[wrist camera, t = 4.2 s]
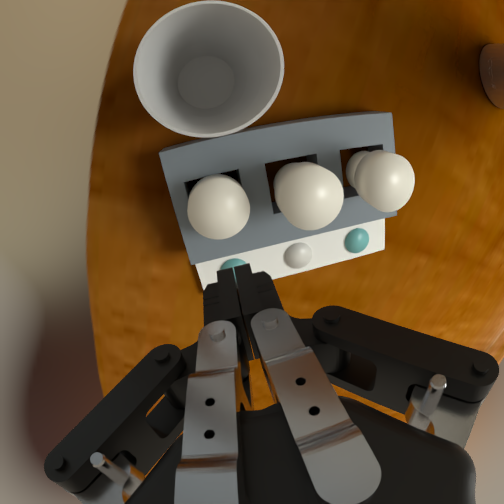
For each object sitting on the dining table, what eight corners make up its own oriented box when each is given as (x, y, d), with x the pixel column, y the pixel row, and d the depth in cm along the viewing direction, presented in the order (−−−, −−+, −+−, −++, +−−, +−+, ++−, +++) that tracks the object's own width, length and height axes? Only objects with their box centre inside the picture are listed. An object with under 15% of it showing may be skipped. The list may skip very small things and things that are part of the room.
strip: (381, 214, 31) (385, 216, 30) (381, 247, 33) (385, 250, 32) (194, 259, 30) (194, 263, 29) (205, 292, 32) (205, 296, 31)
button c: (236, 162, 26) (243, 173, 21) (246, 212, 28) (255, 231, 24) (183, 175, 25) (180, 188, 21) (196, 224, 27) (196, 245, 23)
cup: (266, 55, 22) (303, 29, 14) (235, 139, 25) (255, 156, 16) (176, 29, 20) (164, -13, 11) (145, 114, 23) (114, 118, 14)
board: (374, 111, 26) (391, 112, 23) (381, 205, 30) (396, 215, 28) (163, 148, 25) (158, 152, 22) (191, 250, 29) (191, 265, 27)
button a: (383, 142, 24) (413, 151, 20) (385, 190, 26) (414, 206, 22) (337, 148, 24) (364, 158, 20) (342, 199, 26) (367, 217, 22)
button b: (317, 152, 24) (340, 162, 20) (323, 203, 26) (345, 222, 22) (262, 162, 24) (276, 173, 20) (272, 215, 26) (286, 236, 22)
